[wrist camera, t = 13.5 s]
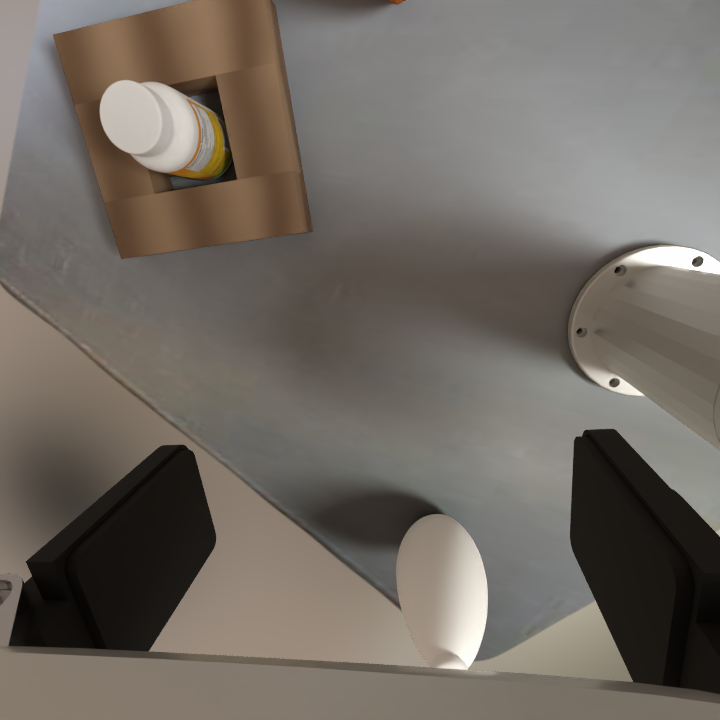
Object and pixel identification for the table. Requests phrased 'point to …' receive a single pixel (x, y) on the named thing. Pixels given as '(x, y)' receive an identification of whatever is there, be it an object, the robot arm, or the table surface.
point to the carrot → (396, 1)
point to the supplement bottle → (165, 130)
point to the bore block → (190, 77)
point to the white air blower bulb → (442, 591)
